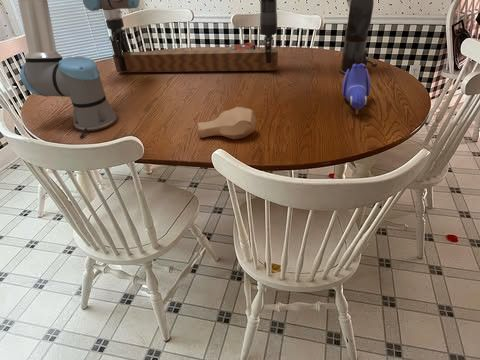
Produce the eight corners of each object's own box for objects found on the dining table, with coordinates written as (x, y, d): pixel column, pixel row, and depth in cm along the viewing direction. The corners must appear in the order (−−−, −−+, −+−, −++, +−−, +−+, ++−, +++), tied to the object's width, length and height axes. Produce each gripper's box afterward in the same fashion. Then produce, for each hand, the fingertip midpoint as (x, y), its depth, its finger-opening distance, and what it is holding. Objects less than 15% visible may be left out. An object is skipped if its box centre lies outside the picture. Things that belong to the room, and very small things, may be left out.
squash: (259, 140, 116) (255, 118, 110) (200, 150, 118) (193, 129, 112) (256, 120, 124) (253, 99, 117) (201, 130, 126) (194, 109, 119)
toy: (340, 103, 144) (343, 119, 122) (342, 60, 138) (346, 69, 115) (366, 103, 142) (373, 119, 120) (369, 59, 135) (378, 68, 113)
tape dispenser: (247, 68, 177) (266, 54, 190) (247, 57, 174) (266, 44, 186) (218, 62, 185) (238, 48, 197) (217, 52, 181) (238, 39, 194)
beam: (116, 72, 175) (112, 55, 170) (120, 68, 179) (116, 52, 174) (277, 70, 165) (277, 52, 160) (277, 66, 169) (277, 49, 164)
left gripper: (113, 23, 155) (126, 75, 168) (128, 14, 169) (139, 62, 183) (97, 23, 156) (111, 75, 169) (113, 14, 170) (125, 63, 184)
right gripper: (276, 25, 149) (276, 66, 159) (277, 18, 161) (277, 56, 171) (258, 26, 150) (259, 66, 160) (261, 18, 162) (261, 56, 172)
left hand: (126, 68), depth 176 cm, fingers closed on beam, 5 cm apart
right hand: (268, 60), depth 166 cm, fingers closed on beam, 5 cm apart
